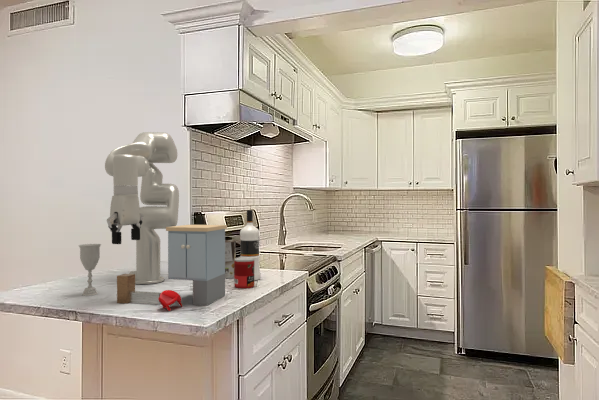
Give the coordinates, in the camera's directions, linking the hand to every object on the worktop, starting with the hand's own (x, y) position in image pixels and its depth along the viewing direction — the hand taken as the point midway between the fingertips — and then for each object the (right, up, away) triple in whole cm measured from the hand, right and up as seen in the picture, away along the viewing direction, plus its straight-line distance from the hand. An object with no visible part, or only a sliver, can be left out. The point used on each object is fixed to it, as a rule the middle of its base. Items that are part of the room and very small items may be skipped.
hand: (126, 241), depth 135 cm
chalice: (-18, -20, +10) cm, 29 cm away
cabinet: (+24, -20, +2) cm, 31 cm away
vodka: (+37, -20, +37) cm, 56 cm away
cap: (+18, -20, -9) cm, 29 cm away
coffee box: (+26, -20, +44) cm, 55 cm away
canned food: (+37, -20, +23) cm, 48 cm away
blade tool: (+6, -20, -2) cm, 21 cm away
